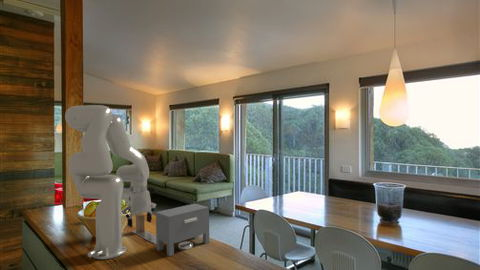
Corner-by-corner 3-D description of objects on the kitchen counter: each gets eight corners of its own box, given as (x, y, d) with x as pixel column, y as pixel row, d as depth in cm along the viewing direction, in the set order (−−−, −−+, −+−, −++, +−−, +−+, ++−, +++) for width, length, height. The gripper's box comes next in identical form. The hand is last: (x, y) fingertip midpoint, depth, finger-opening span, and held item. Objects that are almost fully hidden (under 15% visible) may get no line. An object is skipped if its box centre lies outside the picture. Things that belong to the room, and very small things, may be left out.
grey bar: (154, 244, 130) (154, 224, 130) (131, 232, 147) (131, 214, 147) (165, 241, 134) (164, 222, 134) (141, 230, 150) (141, 212, 150)
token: (189, 250, 123) (189, 247, 123) (176, 249, 124) (175, 246, 124) (195, 245, 129) (195, 242, 129) (182, 244, 130) (182, 240, 130)
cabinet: (170, 256, 116) (169, 217, 116) (156, 249, 124) (155, 212, 124) (210, 242, 131) (210, 207, 130) (195, 237, 138) (195, 203, 138)
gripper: (124, 193, 137) (125, 230, 137) (159, 187, 149) (159, 221, 149) (118, 190, 142) (119, 226, 142) (151, 185, 154) (152, 218, 154)
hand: (139, 224), depth 146 cm, fingers open, 9 cm apart
